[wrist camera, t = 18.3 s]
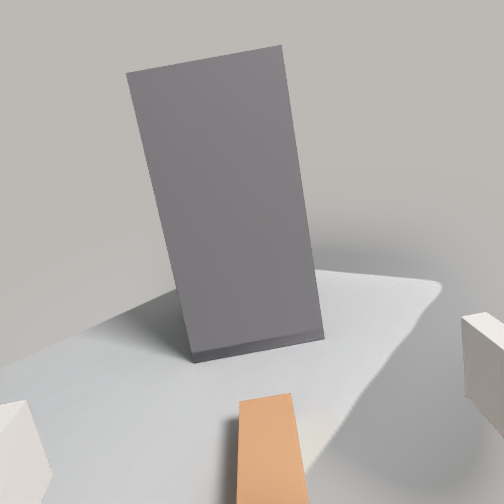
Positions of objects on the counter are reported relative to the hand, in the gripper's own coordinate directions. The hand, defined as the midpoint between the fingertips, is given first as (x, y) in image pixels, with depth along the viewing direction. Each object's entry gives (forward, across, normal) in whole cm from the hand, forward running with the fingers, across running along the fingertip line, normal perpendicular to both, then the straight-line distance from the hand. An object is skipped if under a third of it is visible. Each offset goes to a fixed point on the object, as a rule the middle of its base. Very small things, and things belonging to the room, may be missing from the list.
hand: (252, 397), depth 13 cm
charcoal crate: (+40, 0, -15) cm, 43 cm away
